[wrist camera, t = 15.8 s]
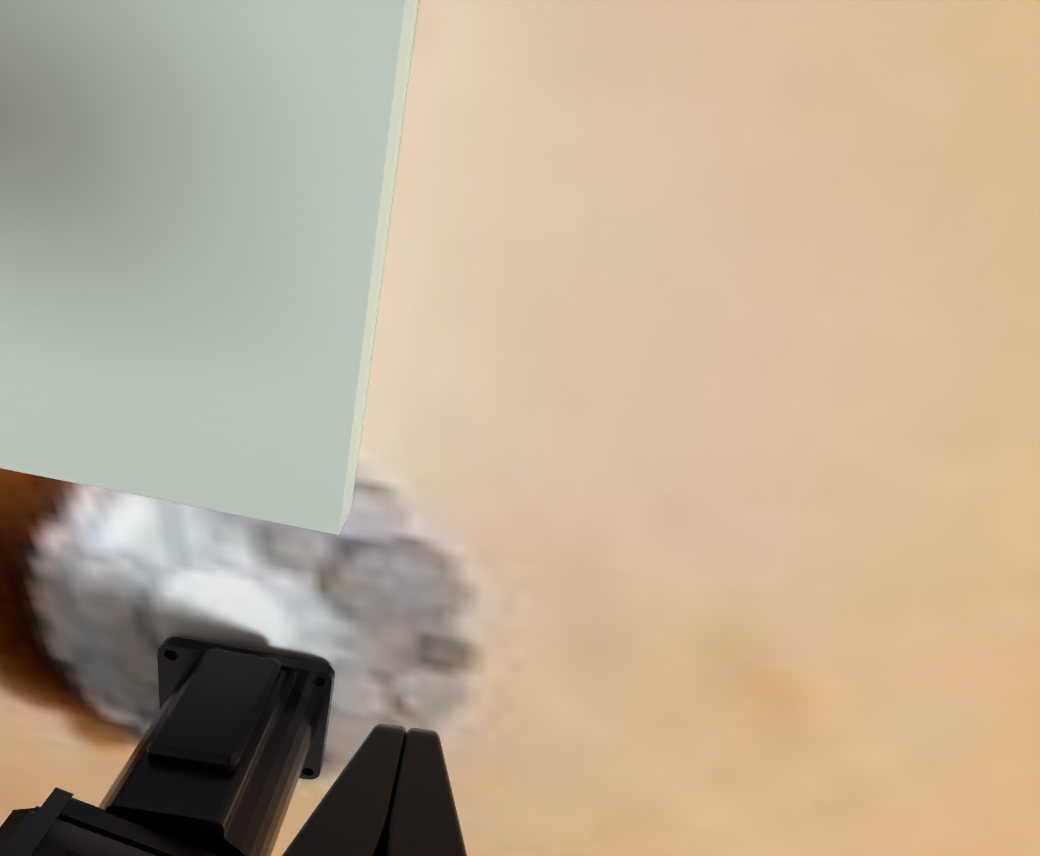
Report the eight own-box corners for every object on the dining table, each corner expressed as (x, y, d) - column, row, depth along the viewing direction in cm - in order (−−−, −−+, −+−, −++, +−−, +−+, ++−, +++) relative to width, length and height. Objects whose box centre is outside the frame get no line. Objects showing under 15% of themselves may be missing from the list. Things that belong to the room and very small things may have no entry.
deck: (351, 508, 20) (338, 534, 19) (-25, 432, 19) (-67, 455, 18) (454, -269, 12) (444, -320, 11) (-193, -473, 11) (-292, -555, 10)
